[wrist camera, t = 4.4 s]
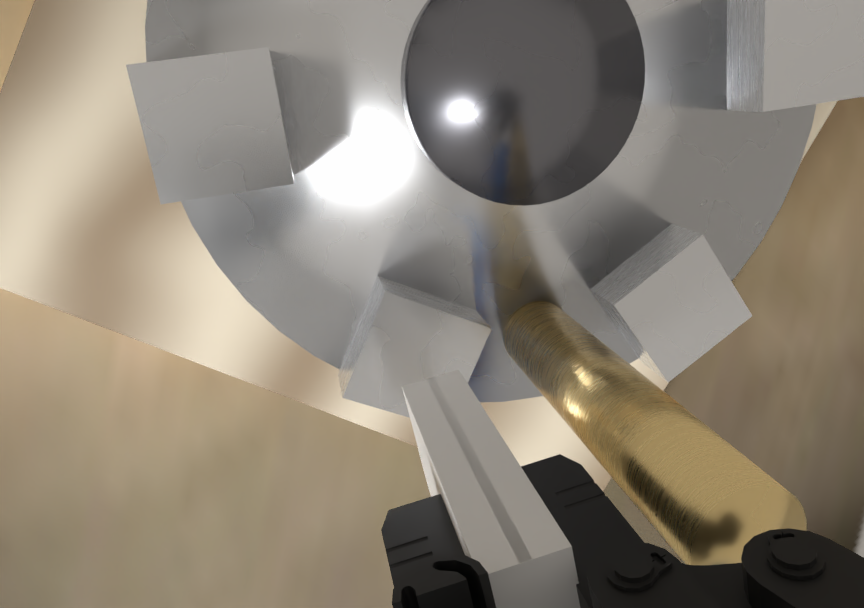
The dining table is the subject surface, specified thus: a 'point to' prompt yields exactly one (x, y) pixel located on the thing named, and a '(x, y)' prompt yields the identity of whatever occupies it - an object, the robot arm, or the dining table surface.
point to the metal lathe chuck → (507, 201)
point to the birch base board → (164, 230)
